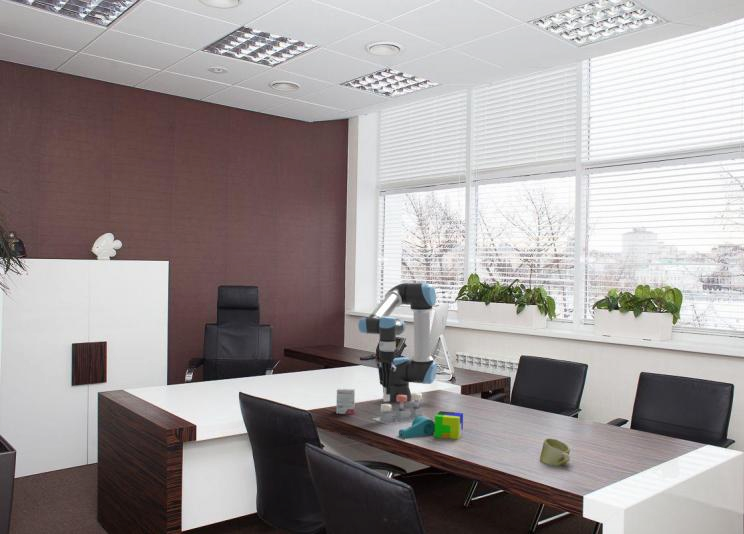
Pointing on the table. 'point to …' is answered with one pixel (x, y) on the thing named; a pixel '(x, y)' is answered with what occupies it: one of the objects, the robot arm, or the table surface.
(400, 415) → the console
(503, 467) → the table surface
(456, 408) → the table surface
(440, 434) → the puzzle toy
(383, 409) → the knob outer
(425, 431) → the tape dispenser
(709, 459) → the table surface
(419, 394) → the knob inner
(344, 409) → the ink box
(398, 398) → the knob mid
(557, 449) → the mug
